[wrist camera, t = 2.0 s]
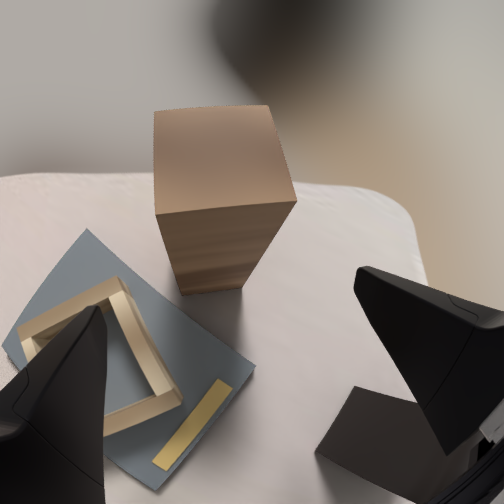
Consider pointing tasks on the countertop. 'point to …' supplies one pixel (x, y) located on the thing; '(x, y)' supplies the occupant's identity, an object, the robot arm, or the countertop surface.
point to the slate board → (129, 371)
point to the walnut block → (218, 192)
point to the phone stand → (393, 446)
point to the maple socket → (138, 337)
